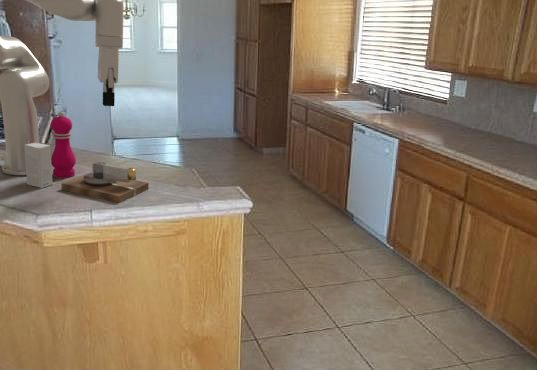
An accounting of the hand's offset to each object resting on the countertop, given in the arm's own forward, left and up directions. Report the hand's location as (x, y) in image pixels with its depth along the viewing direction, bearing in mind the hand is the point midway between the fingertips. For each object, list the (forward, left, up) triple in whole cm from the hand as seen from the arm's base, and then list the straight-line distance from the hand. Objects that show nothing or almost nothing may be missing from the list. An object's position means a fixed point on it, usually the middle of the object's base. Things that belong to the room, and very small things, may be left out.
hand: (108, 105), depth 155 cm
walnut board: (+5, -8, -23) cm, 25 cm away
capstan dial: (+7, -8, -21) cm, 23 cm away
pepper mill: (-14, -4, -23) cm, 28 cm away
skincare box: (-13, -15, -23) cm, 31 cm away
